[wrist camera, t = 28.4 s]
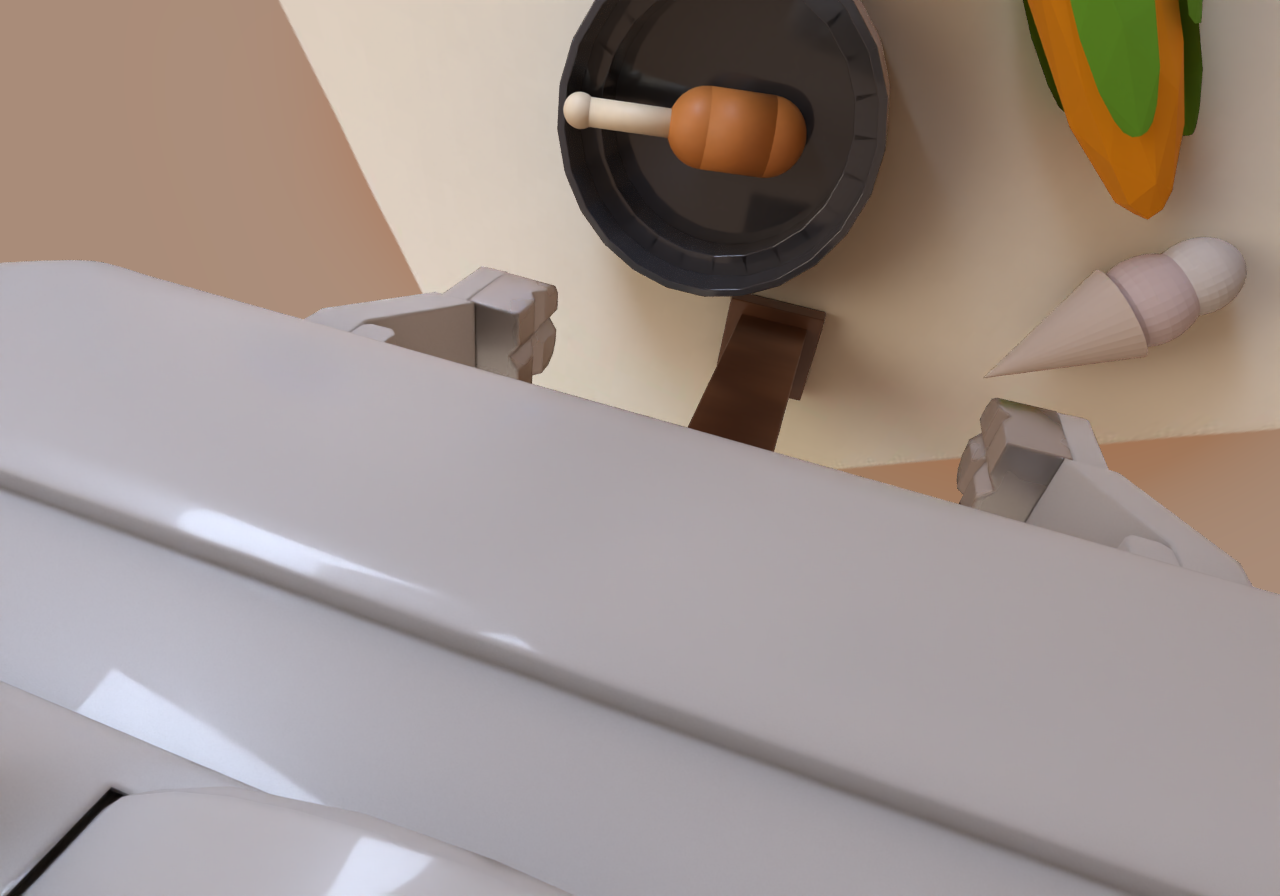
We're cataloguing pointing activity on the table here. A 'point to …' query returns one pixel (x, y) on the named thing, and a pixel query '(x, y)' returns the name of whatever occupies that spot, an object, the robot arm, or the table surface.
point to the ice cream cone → (1132, 307)
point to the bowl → (715, 201)
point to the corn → (1124, 86)
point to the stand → (758, 370)
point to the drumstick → (707, 127)
